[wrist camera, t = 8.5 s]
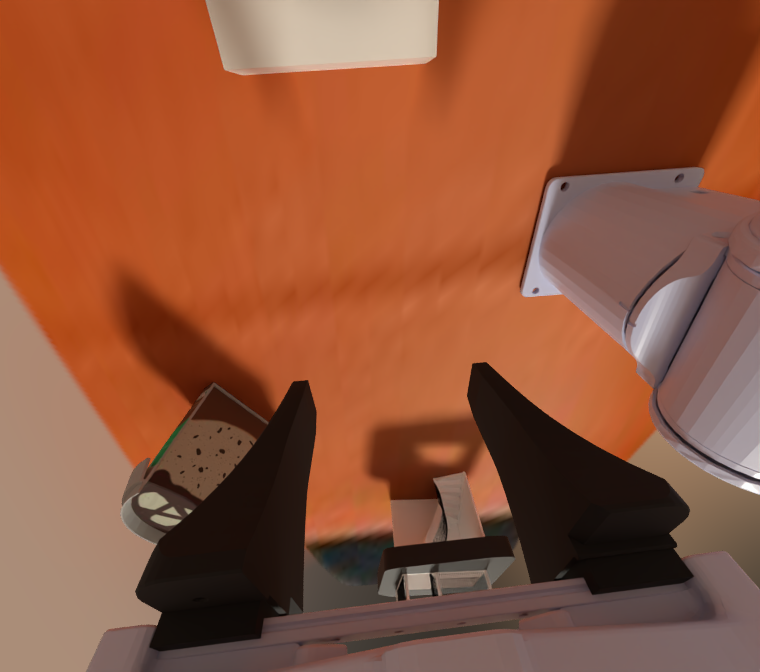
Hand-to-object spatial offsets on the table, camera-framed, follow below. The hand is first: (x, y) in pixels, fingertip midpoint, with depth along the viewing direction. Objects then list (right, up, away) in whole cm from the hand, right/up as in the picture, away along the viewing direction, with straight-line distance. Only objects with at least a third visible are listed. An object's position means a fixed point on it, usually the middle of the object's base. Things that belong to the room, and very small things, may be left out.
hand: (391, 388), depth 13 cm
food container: (-15, -6, +17) cm, 23 cm away
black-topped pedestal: (+5, -17, +27) cm, 32 cm away
